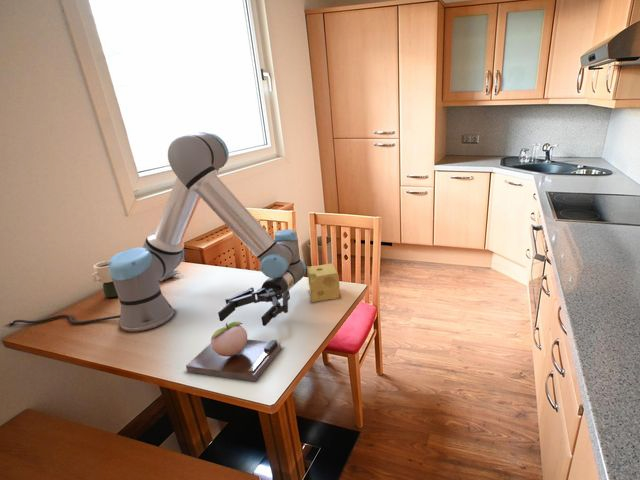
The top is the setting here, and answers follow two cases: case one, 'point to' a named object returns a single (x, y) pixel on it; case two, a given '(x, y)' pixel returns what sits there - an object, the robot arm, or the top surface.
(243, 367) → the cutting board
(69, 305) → the top surface
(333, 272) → the cheese
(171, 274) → the packaged food
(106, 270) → the character mug
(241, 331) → the decorative fruit
